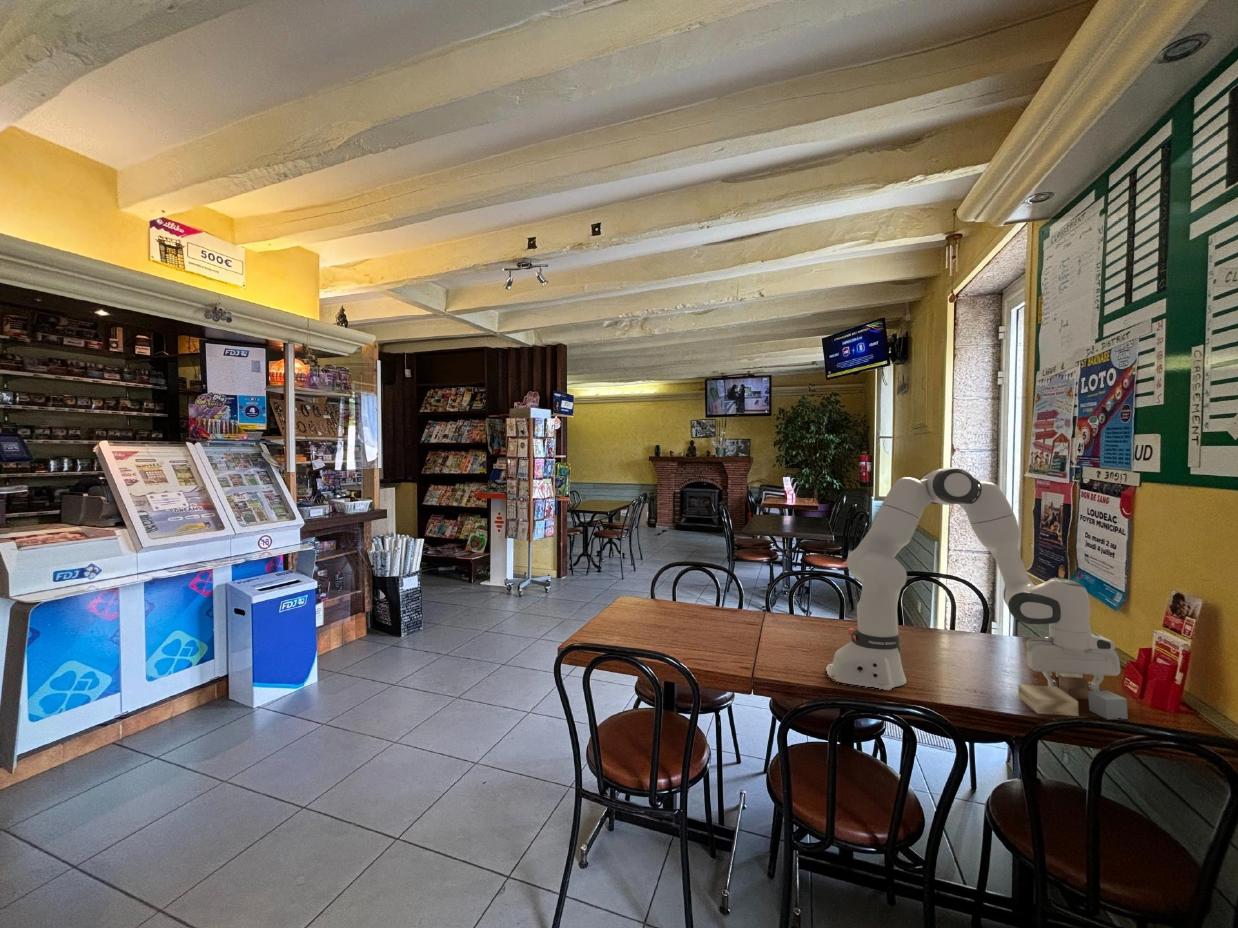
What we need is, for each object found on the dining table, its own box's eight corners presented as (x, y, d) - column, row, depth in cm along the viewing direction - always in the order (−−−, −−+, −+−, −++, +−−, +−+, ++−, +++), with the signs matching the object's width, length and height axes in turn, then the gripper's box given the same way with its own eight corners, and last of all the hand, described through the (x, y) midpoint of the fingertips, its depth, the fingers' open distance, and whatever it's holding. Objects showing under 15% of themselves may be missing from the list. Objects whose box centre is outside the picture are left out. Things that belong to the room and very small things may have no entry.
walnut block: (1068, 698, 139) (1067, 679, 139) (1059, 691, 143) (1058, 673, 143) (1088, 699, 138) (1087, 680, 138) (1078, 692, 142) (1077, 674, 142)
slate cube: (1107, 719, 127) (1106, 699, 127) (1089, 710, 132) (1088, 690, 132) (1127, 719, 127) (1126, 698, 127) (1108, 709, 132) (1107, 690, 132)
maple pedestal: (1037, 714, 131) (1036, 698, 131) (1019, 699, 140) (1018, 684, 140) (1078, 717, 129) (1077, 701, 129) (1057, 701, 138) (1056, 686, 138)
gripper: (1031, 639, 141) (1034, 690, 140) (1122, 643, 135) (1125, 696, 135) (1020, 632, 147) (1023, 680, 147) (1107, 636, 141) (1110, 686, 141)
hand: (1073, 688), depth 141 cm, fingers open, 8 cm apart
